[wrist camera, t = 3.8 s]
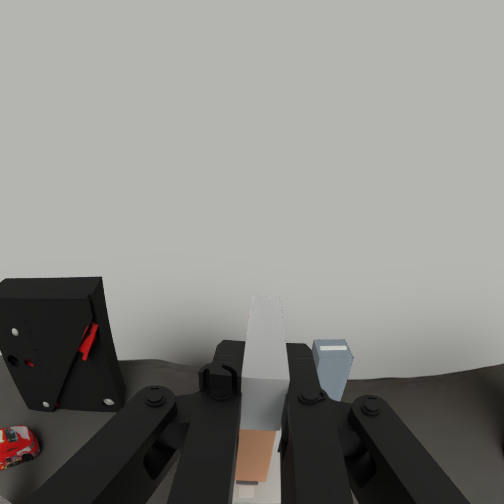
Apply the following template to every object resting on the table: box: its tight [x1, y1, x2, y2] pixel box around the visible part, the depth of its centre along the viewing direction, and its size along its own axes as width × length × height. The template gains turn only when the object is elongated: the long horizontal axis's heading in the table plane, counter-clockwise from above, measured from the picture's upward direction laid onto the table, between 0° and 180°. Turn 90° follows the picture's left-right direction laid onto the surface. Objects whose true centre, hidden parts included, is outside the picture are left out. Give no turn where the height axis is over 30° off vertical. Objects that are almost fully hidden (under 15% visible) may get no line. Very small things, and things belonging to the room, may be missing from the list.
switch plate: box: [232, 428, 281, 504], centre depth 29 cm, size 20×14×3 cm
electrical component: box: [0, 277, 125, 412], centre depth 30 cm, size 18×10×20 cm, turn 108°
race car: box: [0, 425, 41, 470], centre depth 15 cm, size 13×5×4 cm, turn 143°
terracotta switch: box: [235, 429, 276, 481], centre depth 22 cm, size 4×4×12 cm
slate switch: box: [312, 339, 354, 402], centre depth 31 cm, size 4×4×12 cm
